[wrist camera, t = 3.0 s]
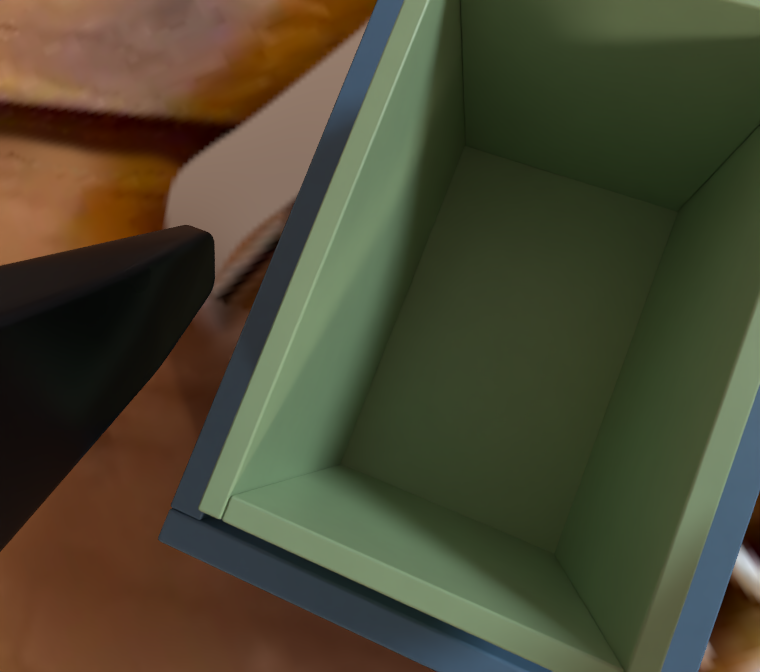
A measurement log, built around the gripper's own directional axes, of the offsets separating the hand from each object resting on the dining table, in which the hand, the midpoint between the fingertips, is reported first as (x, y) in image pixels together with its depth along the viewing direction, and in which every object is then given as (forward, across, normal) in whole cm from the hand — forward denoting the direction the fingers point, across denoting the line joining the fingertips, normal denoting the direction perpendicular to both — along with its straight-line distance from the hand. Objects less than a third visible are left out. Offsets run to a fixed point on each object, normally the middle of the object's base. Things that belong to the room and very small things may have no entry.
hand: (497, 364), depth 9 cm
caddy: (+7, 0, +5) cm, 9 cm away
